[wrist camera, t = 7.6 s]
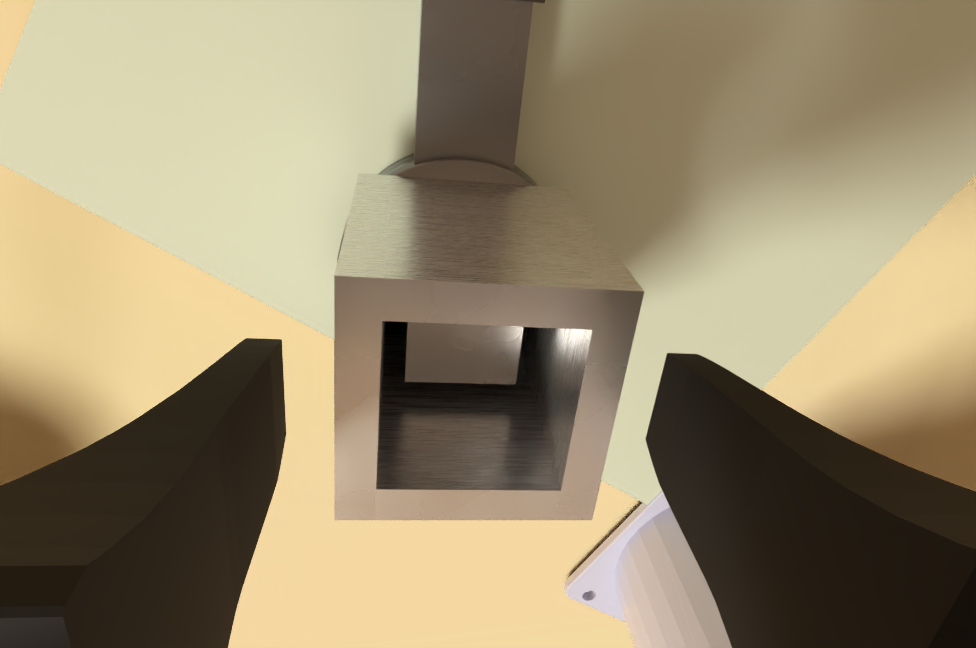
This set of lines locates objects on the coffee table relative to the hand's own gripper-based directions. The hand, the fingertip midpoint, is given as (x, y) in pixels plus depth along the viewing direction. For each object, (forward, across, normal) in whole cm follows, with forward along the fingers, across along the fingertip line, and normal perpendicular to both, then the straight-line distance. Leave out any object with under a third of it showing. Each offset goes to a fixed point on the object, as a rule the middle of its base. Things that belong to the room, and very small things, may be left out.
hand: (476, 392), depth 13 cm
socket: (+5, 0, 0) cm, 5 cm away
